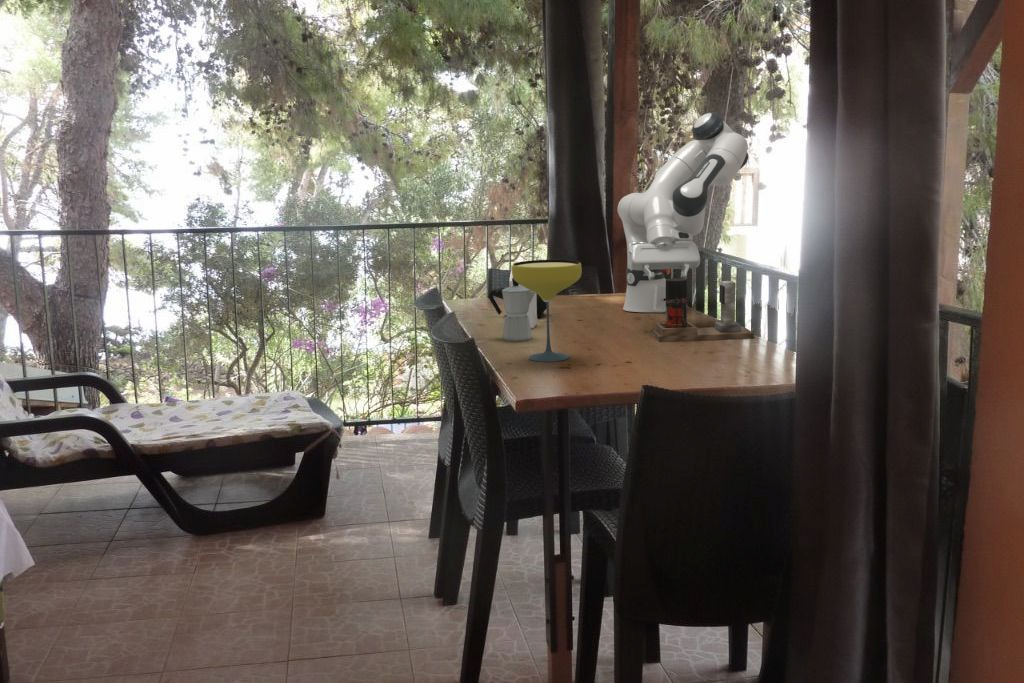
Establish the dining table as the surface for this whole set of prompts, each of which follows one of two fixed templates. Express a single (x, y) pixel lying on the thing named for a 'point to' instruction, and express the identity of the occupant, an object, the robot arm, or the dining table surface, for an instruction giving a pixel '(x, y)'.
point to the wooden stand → (721, 330)
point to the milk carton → (532, 306)
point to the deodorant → (676, 303)
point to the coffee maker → (514, 311)
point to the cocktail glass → (547, 289)
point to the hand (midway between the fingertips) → (667, 278)
